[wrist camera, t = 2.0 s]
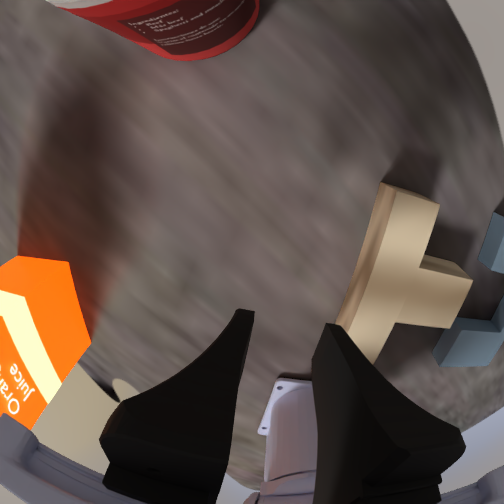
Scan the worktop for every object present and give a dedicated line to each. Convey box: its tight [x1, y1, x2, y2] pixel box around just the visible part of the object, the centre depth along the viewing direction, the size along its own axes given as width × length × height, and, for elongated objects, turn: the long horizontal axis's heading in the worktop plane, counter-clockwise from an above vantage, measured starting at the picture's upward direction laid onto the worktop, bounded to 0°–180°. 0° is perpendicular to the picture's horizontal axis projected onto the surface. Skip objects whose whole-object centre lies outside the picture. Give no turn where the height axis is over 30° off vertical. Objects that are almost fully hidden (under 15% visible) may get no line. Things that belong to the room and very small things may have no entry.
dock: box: [432, 212, 504, 367], centre depth 18 cm, size 13×7×2 cm, turn 170°
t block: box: [335, 182, 473, 365], centre depth 18 cm, size 12×8×3 cm, turn 170°
